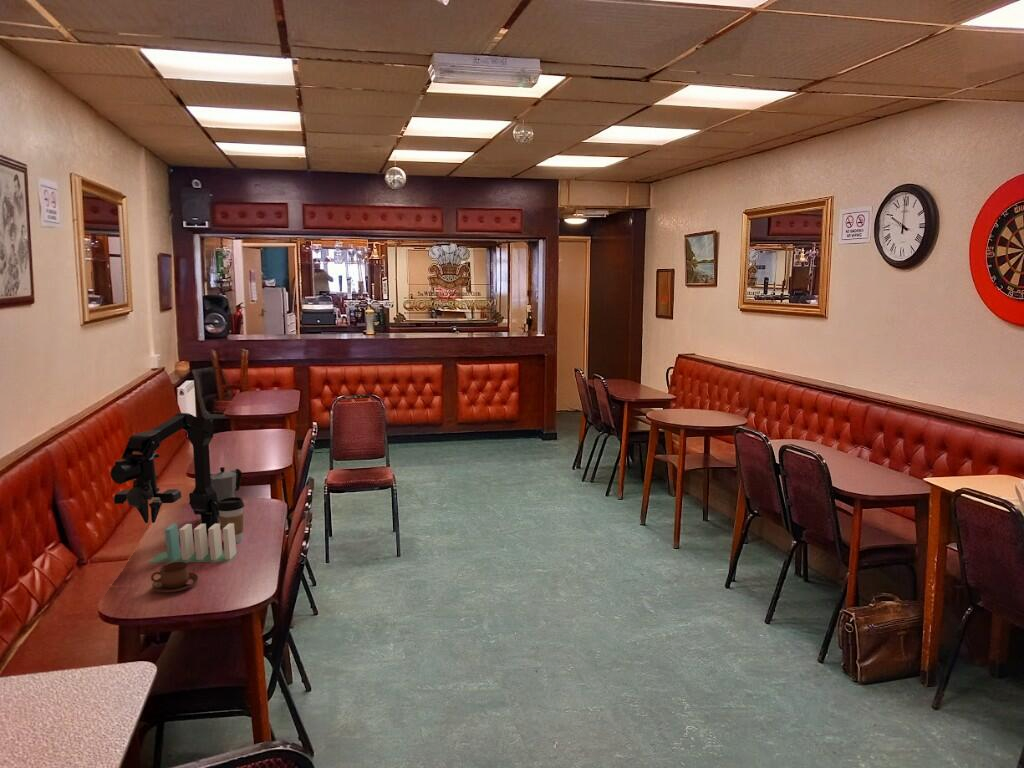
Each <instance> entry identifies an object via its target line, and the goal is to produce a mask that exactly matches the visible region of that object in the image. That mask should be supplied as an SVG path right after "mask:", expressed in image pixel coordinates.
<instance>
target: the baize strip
mask: <svg viewBox="0 0 1024 768" xmlns="http://www.w3.org/2000/svg"><path fill="white" fill-rule="evenodd" d="M239 553H240V551H236V554H235V555H234V556H233V557H232V558H231V559H230V560H225V552H224V551H222V554H221V555H220V556H219V557H218V558H217V559H216V560H211V556H210V551H208V555H206V556H205V557H204V558H203V559H202V560H196V551H194V555H193V556H191V557H190V558H189V559H188V560H182V553H181V551H180V555H179V556H177V557H176V558H175V559H174V560H168V556H167V551H164V552H159V553H158V554H157V555H156V556H154V557H153V558H151V560H149V561H148V564H149V563H174V562H185V563H218V562H219V563H222V562H223V563H226V562H227V563H228V562H229V563H230V562H231V561H232V560H233V559H234V558H235V557H236V556H237V555H238V554H239Z"/></svg>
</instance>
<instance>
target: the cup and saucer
mask: <svg viewBox="0 0 1024 768" xmlns="http://www.w3.org/2000/svg"><path fill="white" fill-rule="evenodd" d="M155 575H160V577H159V578H156V579H155V578H154V577H155ZM150 579H151V581H152V589H153V590H155V591H156V592H158V593H176V592H177V593H178V592H180V591H184V590H187V589H189V588H191V587H193V586H194V585H195V584H196V583H197V582H198V579H199V576H198V575H197V574H196V573H193V572H190V571H189V564H188V562H168V563H167V564H164V565H162V566H161V567H160V568H159V571H155V572H152V573H151V576H150ZM189 580H192V581H193V582H192V583H188V581H189Z"/></svg>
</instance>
